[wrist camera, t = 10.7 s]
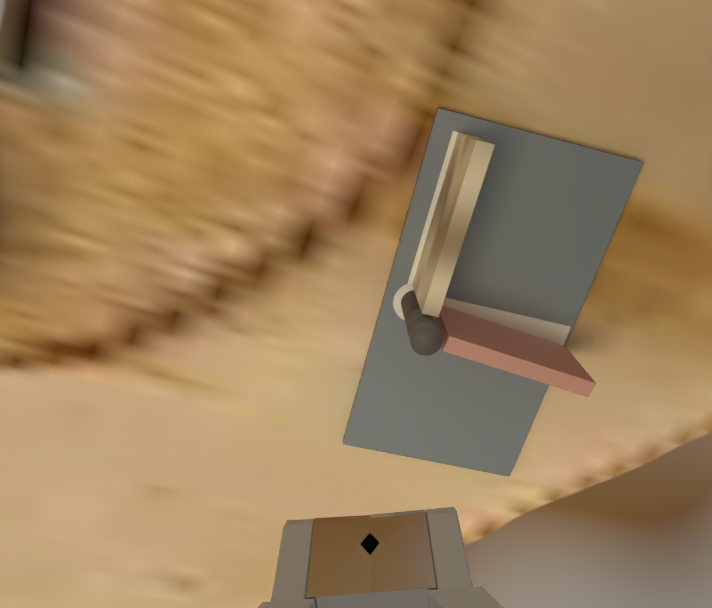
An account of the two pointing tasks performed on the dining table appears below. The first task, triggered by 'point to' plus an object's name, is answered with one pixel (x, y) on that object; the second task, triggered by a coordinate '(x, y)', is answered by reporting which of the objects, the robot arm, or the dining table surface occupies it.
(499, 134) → the card
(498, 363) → the hinged fence panel
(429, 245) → the fixed fence panel
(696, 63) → the dining table surface
